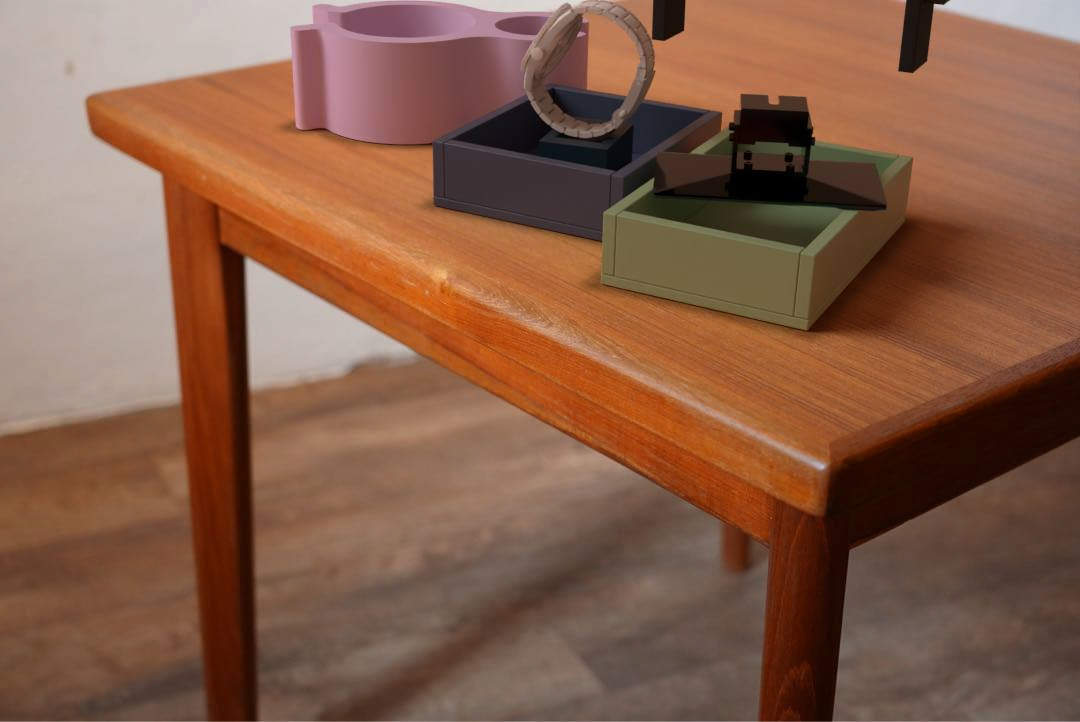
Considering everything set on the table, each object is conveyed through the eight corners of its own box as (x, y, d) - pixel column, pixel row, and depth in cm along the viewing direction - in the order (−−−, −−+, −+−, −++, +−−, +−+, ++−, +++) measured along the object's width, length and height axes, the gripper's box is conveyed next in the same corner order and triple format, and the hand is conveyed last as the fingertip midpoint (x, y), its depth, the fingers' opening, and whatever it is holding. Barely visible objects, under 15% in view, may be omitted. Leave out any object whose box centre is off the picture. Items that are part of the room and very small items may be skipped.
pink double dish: (589, 100, 108) (592, 7, 105) (578, 152, 97) (581, 50, 94) (326, 88, 109) (321, -4, 106) (285, 139, 98) (279, 38, 95)
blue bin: (718, 173, 94) (722, 111, 92) (620, 245, 82) (623, 177, 80) (547, 141, 99) (548, 82, 97) (433, 205, 87) (432, 140, 86)
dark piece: (874, 170, 82) (885, 90, 80) (887, 215, 76) (899, 130, 74) (657, 156, 84) (662, 77, 81) (651, 200, 77) (657, 115, 75)
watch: (538, 159, 94) (541, -12, 89) (658, 174, 91) (667, -1, 86) (507, 186, 89) (508, 7, 84) (632, 203, 87) (641, 20, 82)
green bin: (904, 222, 86) (913, 156, 84) (807, 331, 72) (815, 255, 70) (723, 188, 91) (728, 125, 89) (600, 283, 77) (602, 212, 75)
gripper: (1116, -405, 65) (1042, 63, 74) (614, -398, 75) (605, 10, 85) (1086, -410, 59) (1009, 99, 68) (546, -402, 69) (544, 37, 79)
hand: (785, 51), depth 76 cm, fingers open, 13 cm apart
